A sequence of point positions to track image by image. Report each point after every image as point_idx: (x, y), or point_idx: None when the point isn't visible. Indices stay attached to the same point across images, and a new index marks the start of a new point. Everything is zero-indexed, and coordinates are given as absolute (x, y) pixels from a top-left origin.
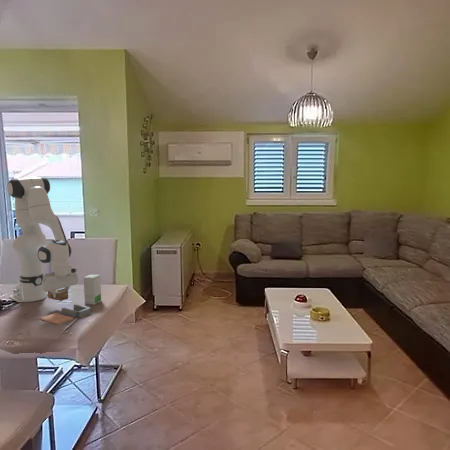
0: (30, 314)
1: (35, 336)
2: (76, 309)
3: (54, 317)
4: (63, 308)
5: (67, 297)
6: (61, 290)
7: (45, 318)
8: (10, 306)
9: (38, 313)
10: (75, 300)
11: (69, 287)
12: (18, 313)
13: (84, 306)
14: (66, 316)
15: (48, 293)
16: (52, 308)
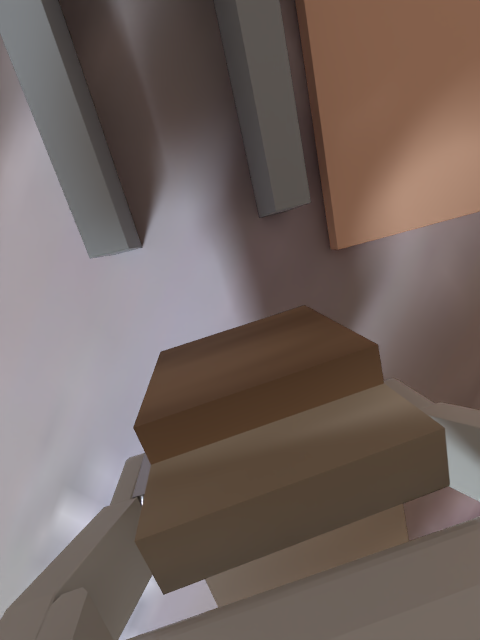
0: (447, 386)
1: None
2: (121, 194)
3: (413, 106)
4: (294, 183)
5: (173, 356)
6: (351, 447)
7: (476, 150)
8: None
9: (403, 371)
10: (21, 518)
11: (2, 627)
12: None
13: (7, 8)
14: (320, 16)
15: None
16: None
